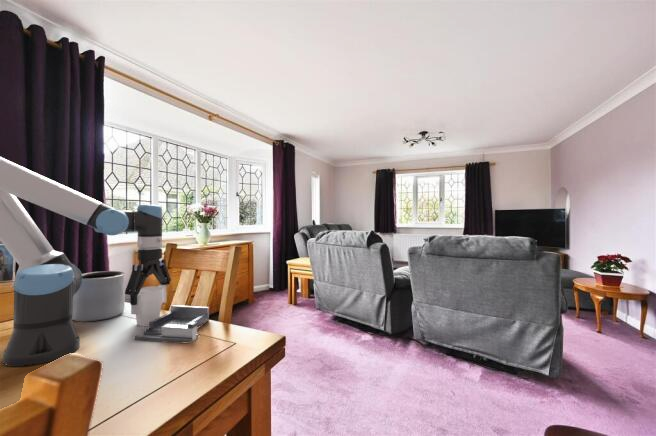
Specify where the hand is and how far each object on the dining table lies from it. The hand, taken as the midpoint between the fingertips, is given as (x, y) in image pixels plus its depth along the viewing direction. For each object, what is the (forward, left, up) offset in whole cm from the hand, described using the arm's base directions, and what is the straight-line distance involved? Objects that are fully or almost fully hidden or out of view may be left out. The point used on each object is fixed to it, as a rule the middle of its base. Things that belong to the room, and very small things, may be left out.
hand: (149, 307), depth 106 cm
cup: (0, 0, -6) cm, 6 cm away
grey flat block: (+19, -12, -5) cm, 23 cm away
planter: (-23, +4, -6) cm, 24 cm away
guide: (+15, -12, -5) cm, 20 cm away
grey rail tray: (+13, -2, -5) cm, 14 cm away
